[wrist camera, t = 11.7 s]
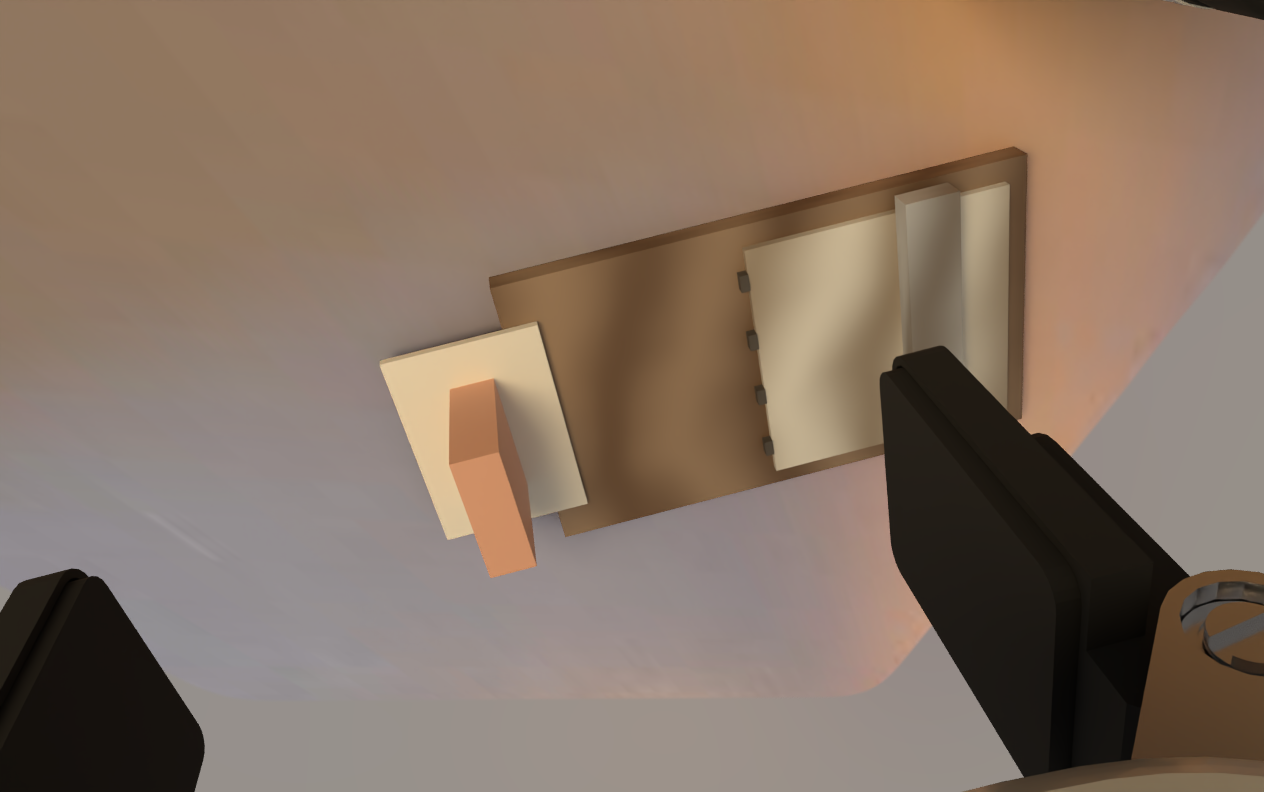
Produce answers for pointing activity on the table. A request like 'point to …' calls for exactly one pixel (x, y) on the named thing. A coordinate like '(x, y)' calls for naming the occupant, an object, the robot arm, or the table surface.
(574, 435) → the ticket board
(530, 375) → the stub
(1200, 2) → the travel mug
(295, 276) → the table surface
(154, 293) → the table surface
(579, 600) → the table surface
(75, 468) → the table surface
